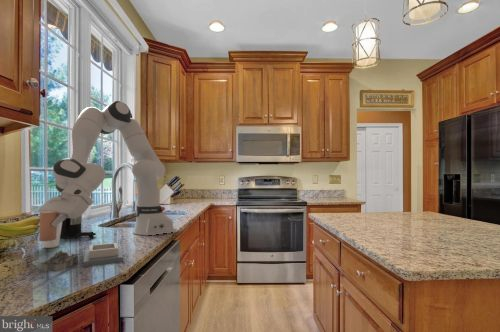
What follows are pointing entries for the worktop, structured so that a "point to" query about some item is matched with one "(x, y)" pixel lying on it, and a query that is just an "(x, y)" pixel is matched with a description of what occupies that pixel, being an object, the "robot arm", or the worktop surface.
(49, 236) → the pillar
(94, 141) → the robot arm
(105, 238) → the worktop surface
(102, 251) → the base board
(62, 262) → the grey rock frame
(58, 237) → the drinking glass
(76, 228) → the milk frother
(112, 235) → the worktop surface
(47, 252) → the worktop surface
